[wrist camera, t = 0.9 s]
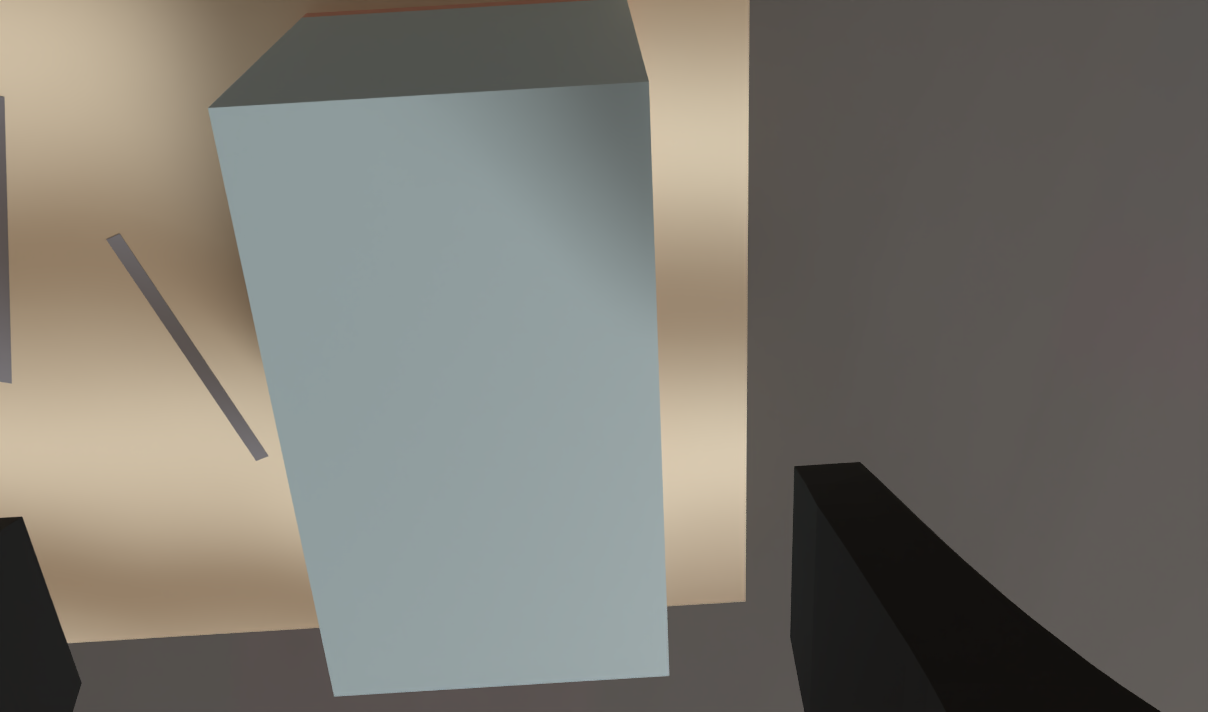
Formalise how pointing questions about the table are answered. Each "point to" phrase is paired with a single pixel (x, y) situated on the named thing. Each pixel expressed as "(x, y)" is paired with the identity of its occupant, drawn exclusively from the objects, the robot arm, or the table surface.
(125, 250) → the birch board
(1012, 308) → the table surface
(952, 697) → the robot arm
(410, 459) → the block
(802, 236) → the table surface
